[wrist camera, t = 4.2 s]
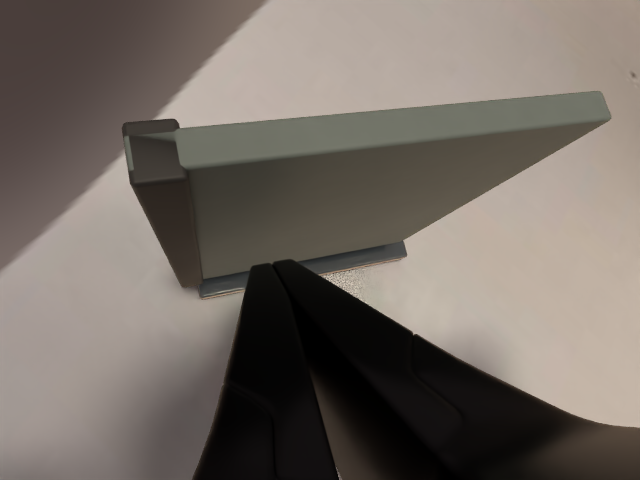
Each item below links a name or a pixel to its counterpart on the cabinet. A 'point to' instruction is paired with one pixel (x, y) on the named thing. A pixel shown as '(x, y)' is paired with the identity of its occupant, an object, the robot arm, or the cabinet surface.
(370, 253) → the dark grey flat bar
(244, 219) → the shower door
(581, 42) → the cabinet surface
